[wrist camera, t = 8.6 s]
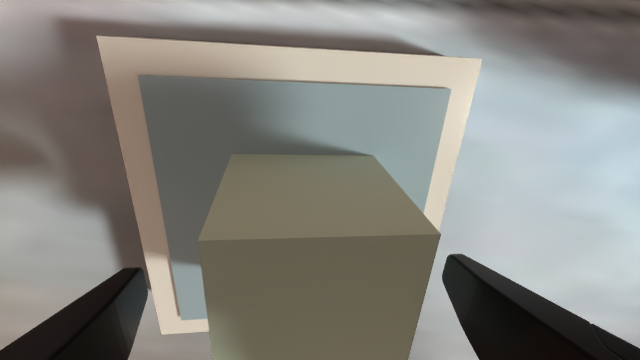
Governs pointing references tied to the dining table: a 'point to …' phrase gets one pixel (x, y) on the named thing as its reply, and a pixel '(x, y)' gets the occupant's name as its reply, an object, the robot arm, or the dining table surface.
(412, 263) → the cube
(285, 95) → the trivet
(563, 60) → the dining table surface
